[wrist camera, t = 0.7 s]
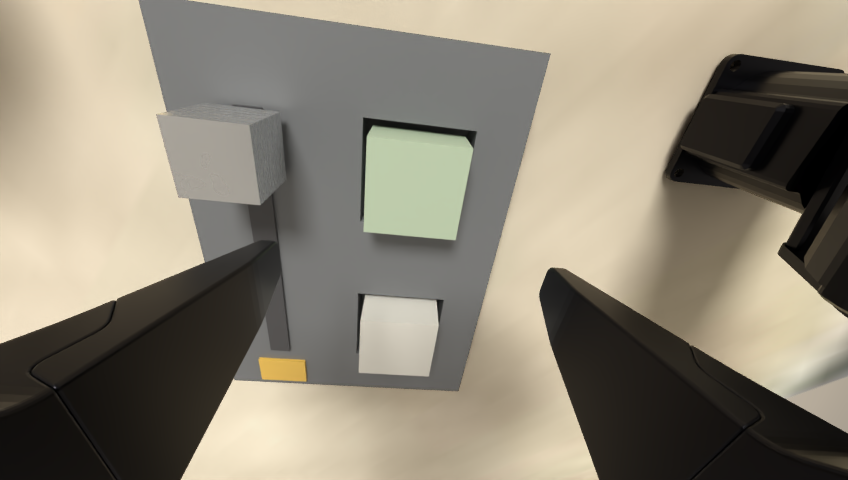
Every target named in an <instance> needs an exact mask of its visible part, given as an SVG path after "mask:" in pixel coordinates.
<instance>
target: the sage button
mask: <svg viewBox="0 0 848 480" xmlns="http://www.w3.org/2000/svg"><path fill="white" fill-rule="evenodd" d="M472 154H473V147H472V146H471V144H470V143H469V141H468V140H467V138H466V137H465V136H462V135H453V134H445V133H437V132H429V131H420V130H412V129H404V128H395V127H387V126H379V125H373V126H372V128H371V130H370V131H369V133H368V135H367V144H366V173H365V202H364V232H370V233H381V234H392V235H403V236H414V237H425V238H436V239H447V240H456V235H457V230H458V225H459V220H460V215H461V210H462V205H463V200H464V195H465V190H466V185H467V179H468V174H469V169H470V164H471V159H472Z"/></svg>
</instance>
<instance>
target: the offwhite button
mask: <svg viewBox="0 0 848 480" xmlns="http://www.w3.org/2000/svg"><path fill="white" fill-rule="evenodd" d="M438 327H439V323H438V312H437V302H436V299H427V298H413V297H400V296H386V295H373V294H365V300H364V305H363V310H362V315H361V320H360V348H359V373H371V374H389V375H408V376H427V377H429V373H430V368H431V363H432V358H433V353H434V347H435V342H436V337H437V332H438Z"/></svg>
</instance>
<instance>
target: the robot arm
mask: <svg viewBox="0 0 848 480" xmlns="http://www.w3.org/2000/svg"><path fill="white" fill-rule="evenodd" d="M733 62H734V66H733V67H732V69H731V70H730V66H731V64H732V63H733ZM678 169H679V171H678V172H677V173H676V174H675V172H676V171H677V170H678ZM665 174H666V177H667V178H668V179H670V180H673V181H677V182H686V183H694V184H703V185H712V186H721V187H729V188H738V189H742V190H745V191H747V192H750V193H752V194H754V195H757V196H759V197H762V198H764V199H767V200H769V201H772V202H774V203H777V204H779V205H782V206H784V207H787V208H789V209H791V210H794V211H796V212H799V213H801V214H802V215H801V217H800V219H799V220H798V222H797V224H796V226H795V228H794V230H793V231H792V233H791V235H790V237H789V239H788V240H787V242H786V243H783V244H782V246H781V248H780V250H779V251H778V255H779V256H780V257H781V258H782V259H783V260H785V261H786V262H787V263H788V264H789V265H790V266H791V267H792V268H793V269H794V270H795V271H796V272H797V273H798V274H800V275H801V276H802V277H803V278H804V279H805V280H806V281H807V282H808V283H809V284H810V285H811V286H812V287H813V288H815V289H816V290H817V291H818V293H819V294H820V295H821V297H822V298H823V299H824V300H826V301H827V302H829V303H830V304H832V305H833V306H834V307H835V308H836V309H837V310H838V311H839V312H841V313H842V314H843V315H844V316H846V317H847V318H848V74H845V73H844V71H843V70H840V69H834V68H827V67H821V66H814V65H808V64H802V63H795V62H789V61H782V60H776V59H769V58H763V57H756V56H750V55H744V54H731V55H729V56H727V57H725V58H724V59H723V60H722V61H721V63H720V64H719V66H718V68H717V70H716V72H715V74H714V76H713V78H712V80H711V82H710V84H709V86H708V88H707V90H706V92H705V94H704V96H703V98H702V100H701V102H700V104H699V106H698V108H697V110H696V112H695V114H694V116H693V118H692V120H691V122H690V124H689V126H688V128H687V130H686V132H685V134H684V136H683V138H682V140H681V142H680V144H679V146H678V148H677V150H676V152H675V154H674V156H673V158H672V160H671V162H670V164H669V166H668V168H667V170H666V173H665ZM674 174H675V175H674ZM280 275H281V260H280V251H279V245H278V243H277V242H276V241H271V240H259V241H256V242H254V243H251V244H249V245H247V246H244V247H242V248H239V249H237V250H234V251H232V252H230V253H227V254H225V255H222V256H220V257H217V258H215V259H213V260H210V261H208V262H205V263H203V264H200V265H198V266H196V267H193V268H191V269H188V270H186V271H183V272H181V273H179V274H176V275H174V276H171V277H169V278H166V279H164V280H161V281H159V282H157V283H154V284H152V285H149V286H147V287H144V288H142V289H140V290H137V291H135V292H132V293H130V294H127V295H125V296H123V297H120V298H118V299H117V301H115V300H113V301H110V302H108V303H105V304H103V305H101V306H98V307H96V308H93V309H91V310H88V311H86V312H83V313H81V314H78V315H76V316H73V317H71V318H68V319H66V320H63V321H61V322H58V323H55V324H53V325H50V326H47V327H44V328H42V329H39V330H36V331H34V332H31V333H28V334H26V335H23V336H20V337H17V338H15V339H12V340H9V341H6V342H4V343H1V344H0V480H181V478H182V476H183V474H184V472H185V470H186V468H187V466H188V465H189V463H190V461H191V459H192V457H193V455H194V453H195V451H196V449H197V447H198V445H199V444H200V442H201V440H202V438H203V436H204V434H205V432H206V430H207V428H208V426H209V424H210V423H211V421H212V419H213V417H214V415H215V413H216V411H217V409H218V407H219V405H220V403H221V402H222V400H223V398H224V396H225V394H226V392H227V390H228V388H229V386H230V384H231V382H232V380H233V379H234V377H235V375H236V373H237V371H238V369H239V367H240V365H241V363H242V361H243V359H244V358H245V356H246V354H247V352H248V350H249V348H250V346H251V344H252V342H253V340H254V338H255V337H256V335H257V333H258V331H259V329H260V327H261V325H262V322H263V320H264V317H265V315H266V312H267V310H268V307H269V304H270V302H271V299H272V296H273V294H274V291H275V288H276V286H277V283H278V280H279V278H280ZM539 297H540V302H541V307H542V311H543V315H544V319H545V324H546V328H547V332H548V336H549V340H550V344H551V347H552V350H553V353H554V356H555V359H556V361H557V364H558V367H559V370H560V372H561V375H562V378H563V381H564V383H565V386H566V389H567V392H568V395H569V397H570V400H571V403H572V406H573V408H574V411H575V414H576V417H577V420H578V422H579V425H580V428H581V431H582V433H583V436H584V439H585V442H586V444H587V447H588V450H589V453H590V456H591V458H592V461H593V464H594V467H595V469H596V472H597V475H598V478H599V480H848V433H846V432H844V431H842V430H841V429H839V428H837V427H835V426H833V425H831V424H829V423H828V422H826V421H824V420H823V419H821V418H819V417H817V416H815V415H813V414H811V413H810V412H808V411H806V410H804V409H803V408H801V407H799V406H797V405H795V404H793V403H792V402H790V401H788V400H786V399H784V398H783V397H781V396H779V395H777V394H775V393H774V392H772V391H770V390H768V389H766V388H765V387H763V386H761V385H759V384H757V383H756V382H754V381H752V380H750V379H749V378H747V377H745V376H743V375H741V374H740V373H738V372H736V371H734V370H733V369H731V368H729V367H728V366H726V365H724V364H722V363H721V362H719V361H717V360H716V359H714V358H712V357H711V356H709V355H707V354H706V353H704V352H702V351H701V350H699V349H697V348H696V347H694V346H690V345H689V343H687V342H686V341H684V340H682V339H681V338H679V337H677V336H676V335H674V334H672V333H671V332H669V331H667V330H666V329H664V328H662V327H661V326H659V325H657V324H656V323H654V322H652V321H651V320H649V319H647V318H646V317H644V316H642V315H641V314H639V313H637V312H636V311H634V310H632V309H631V308H629V307H628V306H626V305H624V304H623V303H621V302H619V301H618V300H616V299H614V298H613V297H611V296H609V295H608V294H606V293H604V292H603V291H601V290H599V289H598V288H596V287H594V286H593V285H591V284H589V283H588V282H586V281H584V280H583V279H581V278H579V277H578V276H576V275H574V274H573V273H571V272H570V271H568V270H566V269H563V268H550V269H549V270H548V271H547V273H546V276H545V279H544V281H543V284H542V286H541V289H540V293H539Z"/></svg>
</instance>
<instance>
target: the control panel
mask: <svg viewBox="0 0 848 480" xmlns="http://www.w3.org/2000/svg"><path fill="white" fill-rule="evenodd" d="M139 4H140V8H141V12H142V16H143V20H144V23H145V27H146V31H147V35H148V39H149V43H150V47H151V51H152V55H153V59H154V63H155V67H156V71H157V75H158V79H159V83H160V87H161V91H162V95H163V99H164V103H165V106H166V110H167V112H168V111H173V110H177V109H181V108H186V107H190V106H194V105H199V104H203V103H211V104H220V105H228V106H236V107H244V108H253V109H261V110H269V111H277V112H280V114H281V125H282V136H283V147H284V158H285V169H286V180H285V181H284V182H283V183H282V184H281V185H280V186H279V187H278V188H277V189H276V190H275V191H274V192H273V193H272V194H271V195H270V196H269V197H268V198H267V199H266V200H265V201H264V202H263V203H262V204H261V205H252V204H242V203H231V202H221V201H210V200H200V199H189V201H190V205H191V209H192V213H193V217H194V221H195V225H196V229H197V233H198V237H199V241H200V245H201V249H202V253H203V257H204V261H205V262H208V261H210V260H213V259H215V258H217V257H220V256H222V255H225V254H227V253H230V252H232V251H234V250H237V249H239V248H242V247H244V246H247V245H249V244H251V243H254V242H256V241H259V240H271V241H276V242H277V243H278V245H279V251H280V260H281V275H280V278H279V280H278V283H277V286H276V288H275V291H274V294H273V296H272V299H271V302H270V304H269V307H268V310H267V312H266V315H265V317H264V320H263V322H262V325H261V327H260V329H259V331H258V333H257V335H256V337H255V338H254V340H253V342H252V344H251V346H250V348H249V350H248V352H247V354H246V356H245V358H244V359H243V361H242V363H241V365H240V367H239V369H238V371H237V373H236V375H235V377H234V379H235V380H242V381H263V382H283V383H303V384H323V385H343V386H364V387H384V388H404V389H424V390H444V391H458V390H459V387H460V383H461V379H462V376H463V372H464V368H465V365H466V361H467V357H468V354H469V350H470V347H471V343H472V339H473V336H474V332H475V328H476V325H477V321H478V317H479V314H480V310H481V306H482V303H483V299H484V295H485V292H486V288H487V284H488V281H489V277H490V273H491V270H492V266H493V262H494V259H495V255H496V251H497V248H498V244H499V240H500V237H501V233H502V230H503V226H504V222H505V219H506V215H507V211H508V208H509V204H510V200H511V197H512V193H513V189H514V186H515V182H516V178H517V175H518V171H519V167H520V164H521V160H522V156H523V153H524V149H525V145H526V142H527V138H528V134H529V131H530V127H531V123H532V120H533V116H534V113H535V109H536V105H537V102H538V98H539V94H540V91H541V87H542V83H543V80H544V76H545V72H546V69H547V65H548V61H549V58H550V54H549V53H542V52H535V51H528V50H522V49H515V48H508V47H501V46H494V45H487V44H481V43H474V42H467V41H460V40H453V39H447V38H440V37H433V36H426V35H419V34H413V33H406V32H399V31H392V30H385V29H379V28H372V27H365V26H358V25H351V24H345V23H338V22H331V21H324V20H317V19H311V18H304V17H297V16H290V15H283V14H277V13H270V12H263V11H256V10H249V9H243V8H236V7H229V6H222V5H215V4H208V3H202V2H195V1H188V0H139ZM373 125H379V126H387V127H395V128H404V129H412V130H420V131H429V132H437V133H445V134H453V135H462V136H465V137H466V138H467V140H468V141H469V143H470V144H471V146H472V147H473V154H472V159H471V164H470V169H469V174H468V179H467V185H466V190H465V195H464V200H463V205H462V210H461V215H460V220H459V225H458V230H457V235H456V240H447V239H436V238H425V237H414V236H403V235H392V234H381V233H370V232H364V202H365V173H366V144H367V135H368V133H369V131H370V130H371V128H372V126H373ZM365 294H373V295H386V296H400V297H413V298H427V299H436V302H437V312H438V323H439V327H438V332H437V337H436V342H435V347H434V353H433V358H432V363H431V368H430V373H429V377H427V376H408V375H389V374H371V373H359V348H360V320H361V315H362V310H363V305H364V300H365Z"/></svg>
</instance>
